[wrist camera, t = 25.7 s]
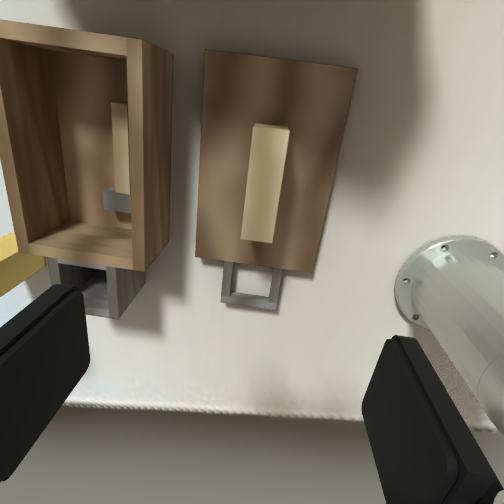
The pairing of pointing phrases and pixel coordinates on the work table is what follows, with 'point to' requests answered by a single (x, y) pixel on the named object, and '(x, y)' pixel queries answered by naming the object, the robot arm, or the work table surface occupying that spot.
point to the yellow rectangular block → (15, 264)
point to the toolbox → (87, 156)
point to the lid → (267, 162)
